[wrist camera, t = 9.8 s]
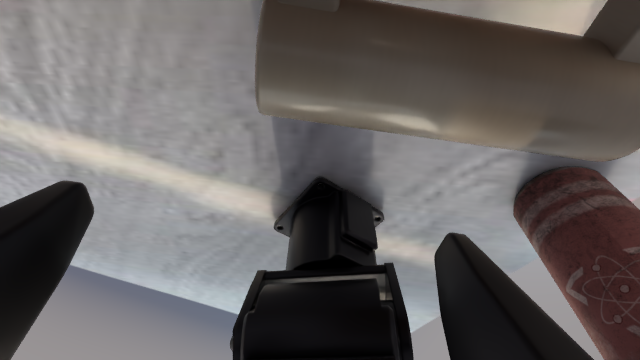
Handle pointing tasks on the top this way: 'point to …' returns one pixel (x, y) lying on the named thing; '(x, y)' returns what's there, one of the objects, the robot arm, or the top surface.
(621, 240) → the can
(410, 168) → the top surface
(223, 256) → the top surface
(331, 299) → the robot arm
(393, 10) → the lid
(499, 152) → the top surface
